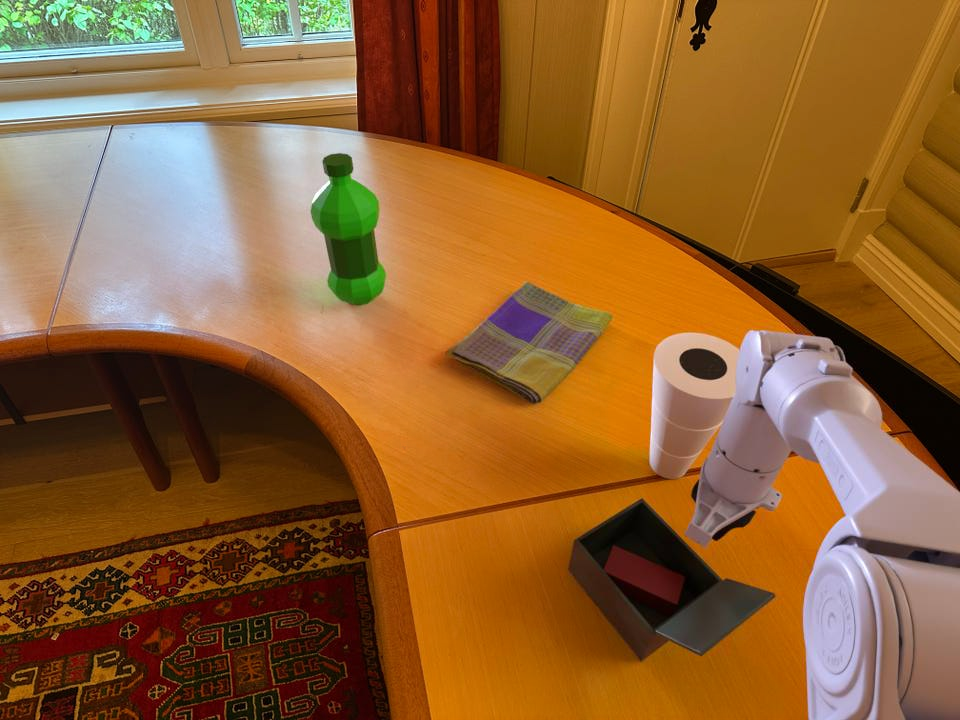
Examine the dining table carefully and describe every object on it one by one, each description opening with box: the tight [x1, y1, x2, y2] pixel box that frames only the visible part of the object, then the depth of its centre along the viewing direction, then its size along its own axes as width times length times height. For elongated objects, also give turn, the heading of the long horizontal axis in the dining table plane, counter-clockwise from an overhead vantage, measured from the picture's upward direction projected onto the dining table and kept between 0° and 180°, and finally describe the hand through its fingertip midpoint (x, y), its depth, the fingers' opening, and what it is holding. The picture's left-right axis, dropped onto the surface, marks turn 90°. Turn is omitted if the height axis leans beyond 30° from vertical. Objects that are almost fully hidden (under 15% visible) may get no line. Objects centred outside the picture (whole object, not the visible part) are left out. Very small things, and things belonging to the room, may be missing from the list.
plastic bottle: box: [310, 152, 387, 307], centre depth 97 cm, size 10×10×25 cm
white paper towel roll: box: [648, 332, 740, 480], centre depth 73 cm, size 11×11×18 cm
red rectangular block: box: [603, 545, 685, 617], centre depth 65 cm, size 8×4×3 cm, turn 62°
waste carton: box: [567, 497, 724, 662], centre depth 64 cm, size 12×10×6 cm
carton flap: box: [656, 577, 777, 657], centre depth 55 cm, size 6×10×1 cm
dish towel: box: [444, 281, 613, 404], centre depth 96 cm, size 18×24×3 cm
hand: (710, 531), depth 62 cm, fingers closed
